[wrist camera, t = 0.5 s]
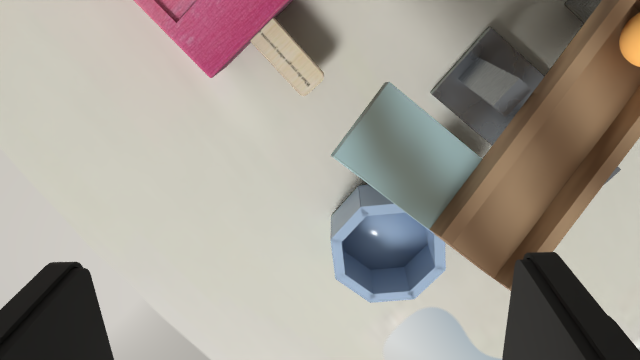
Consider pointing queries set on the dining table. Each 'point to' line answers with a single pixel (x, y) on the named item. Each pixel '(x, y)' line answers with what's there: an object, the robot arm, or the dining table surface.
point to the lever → (509, 153)
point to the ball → (631, 40)
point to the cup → (383, 248)
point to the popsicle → (234, 35)
